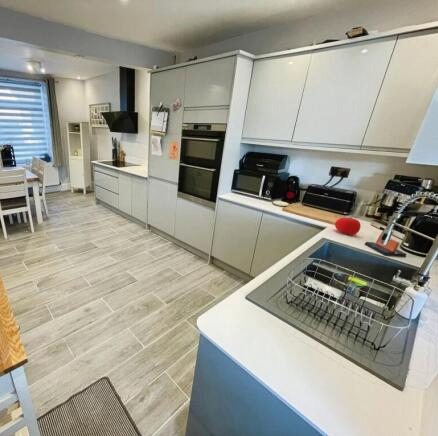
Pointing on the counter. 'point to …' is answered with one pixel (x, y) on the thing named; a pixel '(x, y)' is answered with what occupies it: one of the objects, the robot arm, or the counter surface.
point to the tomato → (348, 225)
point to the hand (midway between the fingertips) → (410, 215)
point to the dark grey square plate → (385, 250)
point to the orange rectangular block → (389, 244)
